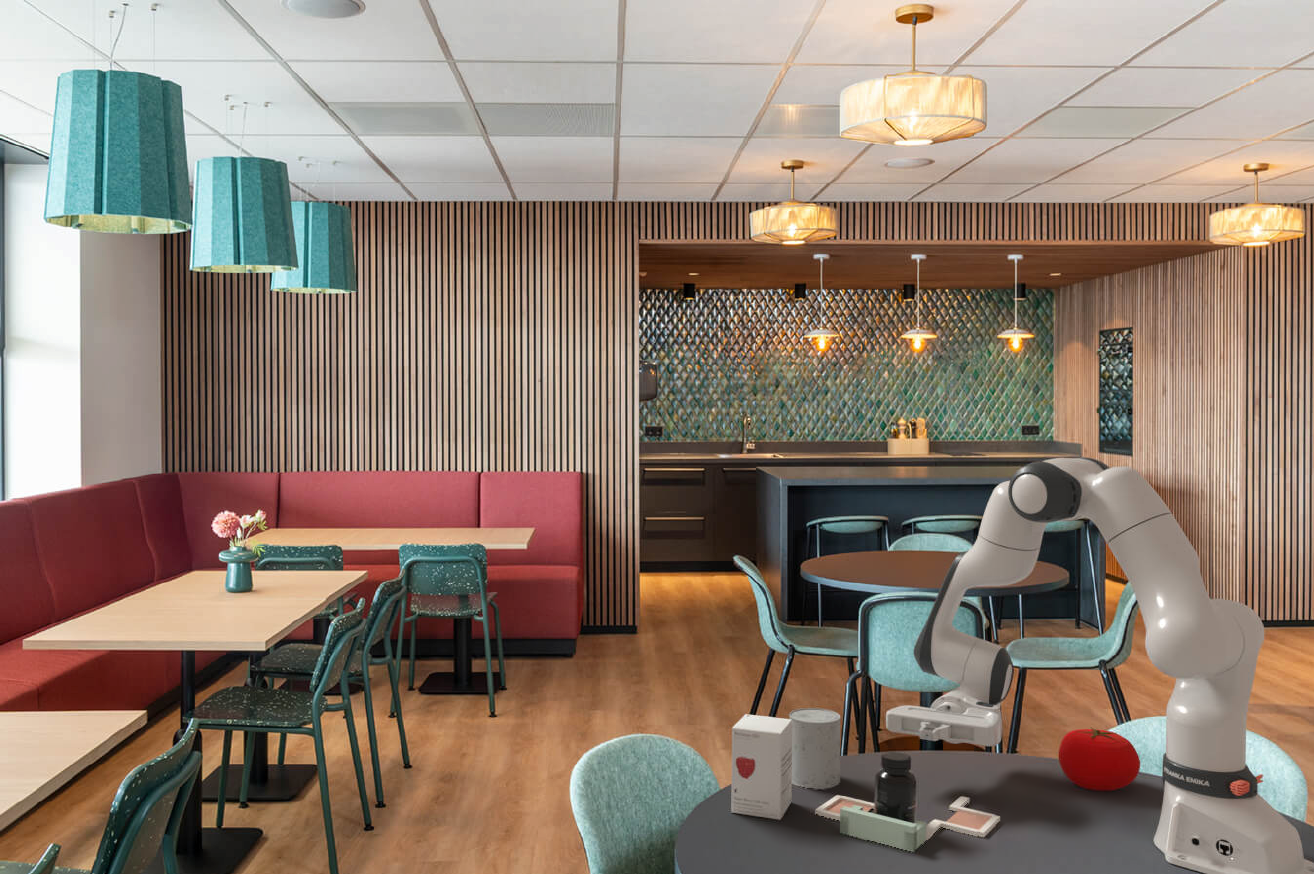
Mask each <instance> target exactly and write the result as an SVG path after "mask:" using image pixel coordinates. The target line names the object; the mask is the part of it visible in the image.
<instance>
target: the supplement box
mask: <svg viewBox="0 0 1314 874" xmlns="http://www.w3.org/2000/svg"><path fill="white" fill-rule="evenodd" d="M792 729H793V720H792V719H790V718H782V717H781V718H780V717H773V716H766V715H757V714H755V715H754V714H748V713H745V714H744V715H743V716H742V717H741V718H740V719H739V720H738V721H737V722H736V723H735V724H734V725H733V726H732V728H731V787H730V788H731V789H730V791H731V794H730V796H731V799H730V800H731V801H730V804H731V806H730V808H731V810H730V811H731V814H732V813H733V814H741V815H747V816H752V817H758V818H759V817H760V818H766V819H773V820H779V821H780V820H781V819H782V818H783V817H784V815H785V813H786V811H787V810H788V808H789V806H790V804H791V803H792V792H793V790H792V786H793V784H792Z"/></svg>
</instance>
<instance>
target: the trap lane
mask: <svg viewBox="0 0 1314 874" xmlns="http://www.w3.org/2000/svg"><path fill="white" fill-rule="evenodd" d="M970 799H971V798H970V797H966V796H962V795H961V796H960V797H958V798H957V799H956V800H954V802H952V803H951V804H950V805H949V806H948V807H949V808H948V809H949V810H953V811H957V812H954V814H953V815H952V816H951V817H950V818H948V819H947V820H946V821H944V820H940V819H936V818H935V819H933V820H931V821H930V822H929V823H928V824H927V821H922V820H917V819H916V822H915V823H910V822H906V821H902V820H898V819H894V818H890V817H886V816H882V815H878V814H874V812H871V811H870V812H868V811H869V810H870V809H872V808H873V809H874V802H869V801H866V800H863V799H858V798H857V799H856V798H854V797H849V796H845V795H839V794H837V795H835V796H833V797H832V798H831V799H829V800H827V801H826V802H824V803H823V804H822V805H820V806H818V807H817V808H815V810H814V814H815V815H816V814H818V815H817V816H819V817H821V816H824V817H823V818H825V817H826V819H829V818H831V819H830V820H833V819H835V820H834V821H837V820H839V821H838V822H840V823H839V833H840V834H841V833H842V835H845V834H846V835H845V836H848V835H849V837H852V836H853V838H856V837H857V838H856V839H861V840H864V841H867V840H870V841H869V842H871V841H875V842H877V843H876V844H879V843H881V844H880V845H882V844H885V845H884V846H886V845H889V846H888V847H890V846H892V847H891V848H894V847H896V848H895V849H897V848H899V849H898V850H901V849H903V850H902V851H905V850H907V851H906V852H909V851H911V852H910V853H912V852H913V853H915V850H916V849H917V848H918V847H919V846H920V845H921V844H922V845H924V844H925V843H926V842H927V841H928V840H929V839H930V838H932V836H934V835H935V834H936V833H937V832H938V831H939V830H940V829H941V828H940V827H943V828H946V829H945V830H947V829H950V830H949V831H951V830H953V831H952V832H955V833H960V834H964V833H965V834H964V835H968V834H969V835H968V836H972V835H973V836H972V837H978V836H979V837H978V838H982V837H983V839H984V838H985V837H986V836H987V835H988V834H989V833H990V832H991V831H992V830H993V829H994V828H995V827H996V826H997V825H998V824H999V823H1000V822H1001V816H1000V815H997V814H994V813H989V812H985V811H980V810H976V809H973V808H967V807H966V806H967V805H968V804H970V803H969V802H970ZM967 803H968V804H967ZM966 804H967V805H966ZM965 805H966V806H965ZM964 806H965V807H964ZM949 810H948V811H949ZM999 821H1000V822H999ZM998 822H999V823H998ZM997 823H998V824H997ZM996 824H997V825H996ZM939 828H940V829H939ZM943 828H942V829H943ZM938 829H939V830H938ZM937 830H938V831H937ZM936 831H937V832H936ZM935 832H936V833H935ZM934 833H935V834H934ZM933 834H934V835H933ZM926 840H927V841H926ZM925 841H926V842H925ZM875 842H874V843H875ZM924 842H925V843H924ZM922 845H921V846H922ZM921 846H920V847H921ZM920 847H919V848H920ZM919 848H918V849H919ZM918 849H917V850H918ZM917 850H916V851H917Z"/></svg>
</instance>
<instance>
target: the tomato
mask: <svg viewBox="0 0 1314 874" xmlns="http://www.w3.org/2000/svg"><path fill="white" fill-rule="evenodd" d="M1058 760H1059V761H1058V762H1059V766H1060V768H1061V769H1062V771H1063V774H1064V775H1065V776H1066V778H1067V779H1068V780H1069V781H1071V783H1074V784H1075V785H1077V786H1078V787H1081V788H1083V789H1086V790H1092V791H1098V792H1100V791H1101V792H1105V791H1106V792H1108V791H1109V792H1110V791H1117V790H1118V789H1123V788H1125V787H1126V786H1128V785H1129V784H1131V783H1132V782H1133V781H1134V780H1135V779H1136V778H1137V777H1138V774H1139V772H1140V769H1141V768H1140V767H1141V760H1140V757H1139V754H1138V752H1137V750H1136V748H1135V746H1134V744H1132V743H1131V742H1130V740H1129V739H1127V738H1125V737H1124V736H1123V735H1121V734H1118V733H1117V732H1114V731H1111V730H1106V729H1095V728H1093V727H1090V728H1080V729H1073V730H1071V731H1069V732H1067V733H1066V734H1065V735H1064V736H1063V738H1062V740H1061V742H1060V745H1059V749H1058Z"/></svg>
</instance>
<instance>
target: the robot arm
mask: <svg viewBox="0 0 1314 874" xmlns="http://www.w3.org/2000/svg"><path fill="white" fill-rule="evenodd" d="M1083 518H1087V519H1089V520H1090V521H1091V522H1092V523H1093V524H1094V525H1095V526H1096V527H1097V529H1098V530H1099V532H1100V534H1101V535H1102V537H1103V538H1104V541H1105V542H1106V544H1107V545H1108V548H1109V549H1110V551H1111V553H1112V554H1113V556H1114V558H1115V560H1116V561H1117V563H1118V564H1119V567H1120V568H1121V569H1122V572H1123V573H1124V575H1125V576H1126V578H1127V581H1128V582H1129V584H1130V586H1131V588H1132V591H1133V593H1134V595H1135V598H1136V602H1137V604H1138V607H1139V610H1140V613H1141V617H1142V620H1143V624H1144V627H1145V639H1144V641H1145V642H1144V645H1145V651H1146V654H1147V656H1148V657H1147V658H1148V659H1149V660H1150V661H1151V663H1152V664H1153V666H1154V667H1155V668H1156V669H1158V671H1160V672H1161V673H1163V674H1165V675H1167V676H1169V677H1171V678H1173V679H1176V680H1175V684H1174V687H1173V690H1172V693H1171V696H1170V697H1169V700H1168V702H1167V705H1166V716H1165V717H1166V719H1165V720H1166V721H1165V722H1166V723H1165V725H1166V726H1165V753H1163V757H1162V784H1163V788H1164V790H1163V797H1162V806H1161V811H1160V817H1159V821H1158V825H1157V828H1156V831H1155V834H1154V836H1153V843H1154V845H1155V846H1156V847H1157V848H1158V849H1159V850H1160V851H1161V852H1162V853H1163V854H1164V858H1165V861H1166V862H1168V863H1169V864H1172V865H1175V866H1177V867H1178V866H1179V867H1182V868H1186V869H1188V870H1193V871H1197V872H1199V873H1201V874H1202V873H1203V874H1314V862H1312V861H1310V860H1308V859H1306V858H1305V857H1304V851H1303V844H1302V840H1301V838H1300V834H1299V831H1298V830H1297V828H1296V827H1295V826H1294V825H1293V824H1291V823H1290V822H1289V821H1288V820H1287V819H1286V818H1285V817H1284V816H1283V815H1281V813H1279V811H1277V810H1276V809H1275V808H1274V807H1273V806H1272V805H1271V804H1270V803H1269V802H1267V800H1266V799H1264V798H1263V797H1262V795H1260V793H1258V791H1259V790H1258V789H1259V787H1258V784H1261V783H1263V782H1264V780H1263V777H1264V775H1263V774H1261V773H1260V774H1258V775H1256V776H1255V774H1254V773H1252V771H1251V770H1250V767H1249V766H1248V764H1246V761H1247V760H1246V757H1247V753H1246V752H1247V721H1248V720H1247V718H1248V711H1249V710H1248V709H1249V704H1250V698H1251V695H1252V694H1251V693H1252V690H1253V687H1254V686H1253V685H1254V680H1255V675H1256V668H1257V662H1258V658H1259V657H1258V656H1259V653H1260V652H1261V651H1260V650H1261V648H1262V647H1263V644H1264V640H1265V635H1266V633H1265V632H1266V631H1265V627H1264V623H1263V622H1262V619H1261V618H1260V616H1259V615H1258V614H1257V612H1256V611H1255V610H1254V609H1252V608H1251V607H1250V606H1249V605H1246V604H1244V603H1242V602H1240V601H1236V600H1232V599H1226V598H1210V596H1209V594H1208V592H1207V589H1206V586H1205V583H1204V580H1203V577H1202V574H1201V571H1200V558H1199V554H1198V552H1197V551H1196V550H1195V548H1194V546H1193V545H1192V543H1191V541H1190V540H1189V538H1188V537H1187V535H1186V534H1185V532H1184V530H1183V529H1182V527H1181V526H1180V524H1179V523H1178V522H1177V520H1176V519H1177V518H1176V517H1175V516H1174V515H1173V513H1172V512H1171V510H1170V509H1169V507H1168V506H1167V504H1166V503H1165V502H1164V500H1163V499H1162V497H1161V496H1160V495H1159V493H1158V492H1157V491H1156V490H1155V488H1153V486H1152V485H1151V484H1150V483H1149V482H1148V481H1147V479H1146V478H1145V477H1144V476H1143V475H1142V474H1141V473H1140V472H1139V471H1138V470H1136V469H1135V468H1133V467H1129V466H1124V465H1123V466H1113V467H1109V465H1107V464H1106V463H1105V462H1103V461H1101V460H1098V459H1096V458H1092V457H1082V456H1081V457H1076V458H1074V457H1072V458H1071V457H1056V458H1051V459H1045V460H1041V461H1034V462H1031V463H1028V464H1026V465H1023V466H1021V468H1019V469H1018V470H1017V471H1016V472H1014V474H1013V475H1012V476H1011V479H1009V480H1007V481H1002V482H1001V483H999V484H998V485H996V487H995V488H994V489H993V490H992V493H991V495H990V497H989V499H988V501H987V504H986V507H985V509H984V513H983V516H982V519H981V522H980V526H979V529H978V530H979V531H978V535H977V538H976V540H975V542H974V544H973V545H972V546H971V548H970V549H968V550H965V551H961V552H960V553H958V555H956V557H955V558H954V560H953V561H952V563H951V564H950V566H949V568H948V571H947V572H946V575H945V577H944V579H943V581H942V584H941V585H940V589H939V591H938V594H937V595H936V598H935V600H934V603H933V605H932V608H931V611H930V613H929V614H928V617H927V620H926V621H925V624H924V625H923V628H922V629H921V631H920V633H919V635H918V637H917V638H916V641H915V644H914V648H913V657H914V659H915V662H916V663H917V665H918V667H919V669H920V670H921V671H922V672H923V673H924V674H925V673H926V674H929V675H932V676H935V677H939V678H942V679H943V678H944V679H946V680H948V681H950V682H953V683H955V684H957V685H959V686H957V687H955V688H954V689H952V690H951V691H948V692H946V693H945V694H943V695H941V696H940V697H938V698H936V699H935V700H933V702H932V704H931V706H930V707H925V706H919V705H918V706H917V705H910V704H909V705H907V704H906V705H904V704H903V705H899V706H897V707H894V708H890V709H889V710H887V711H886V713H885V725H886V726H885V727H886V729H887V730H888V732H893V733H899V734H905V735H906V734H907V735H913V736H918V737H919V739H920V740H927V741H933V742H936V741H939V740H943V741H945V742H947V743H949V744H962V743H966V744H972V745H978V746H984V747H995V746H997V745H998V744H1000V743H1001V741H1002V734H1003V721H1002V711H1001V705H1002V702H1003V701H1004V700H1005V699H1006V698H1007V697H1008V695H1009V691H1010V690H1011V687H1012V684H1013V679H1014V675H1015V668H1014V664H1013V663H1014V662H1013V660H1012V658H1011V655H1010V653H1009V652H1008V650H1007V649H1006V648H1005V647H1002V646H1001V645H998V644H996V643H993V642H991V641H988V640H985V639H983V638H979V637H976V636H974V635H971V634H969V633H966V632H963V631H960V630H958V629H956V628H955V627H954V625H953V621H954V619H955V617H956V614H957V612H958V609H959V607H960V605H961V602H962V600H963V598H964V595H965V593H966V592H967V590H968V589H972V588H982V587H1005V586H1010V585H1014V584H1017V583H1019V582H1022V581H1023V580H1025V579H1026V578H1028V576H1030V575H1031V574H1032V572H1033V571H1034V568H1035V566H1036V564H1037V561H1038V558H1039V554H1040V551H1041V545H1042V541H1043V536H1044V532H1045V529H1046V526H1047V525H1048V524H1049V523H1055V522H1071V521H1076V520H1081V519H1083Z"/></svg>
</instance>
